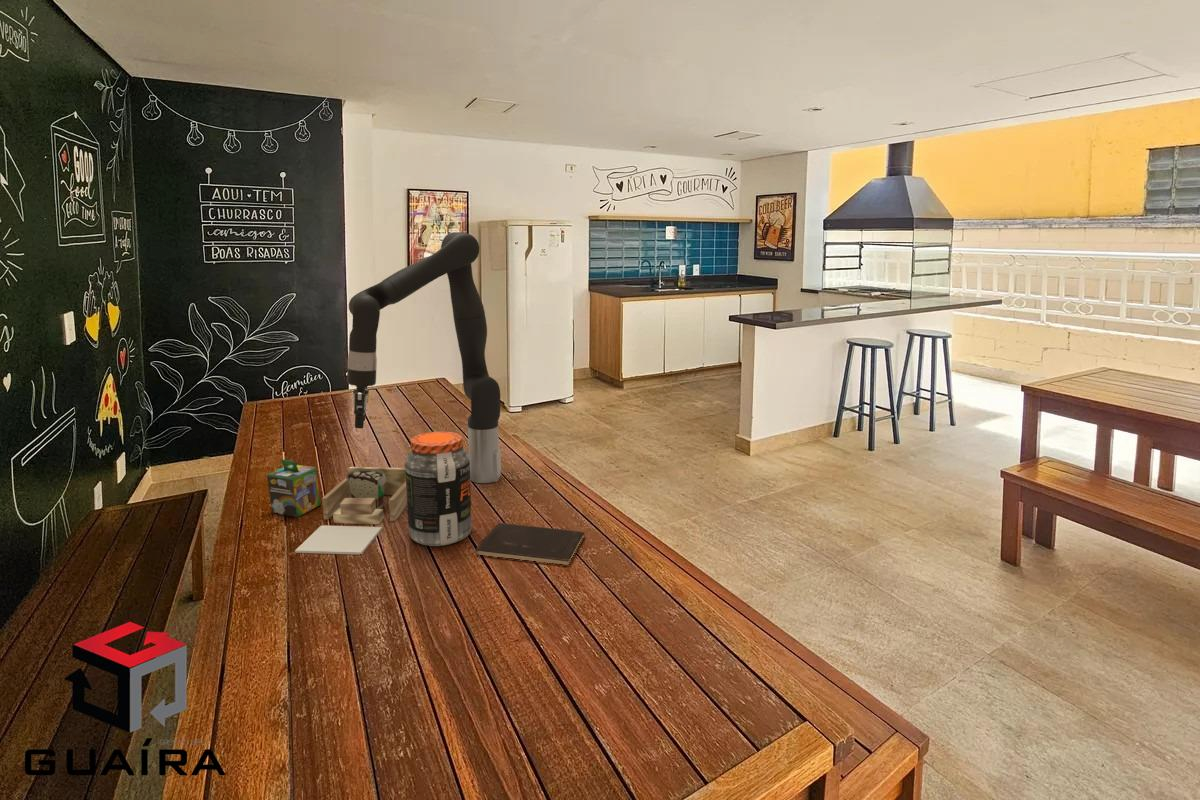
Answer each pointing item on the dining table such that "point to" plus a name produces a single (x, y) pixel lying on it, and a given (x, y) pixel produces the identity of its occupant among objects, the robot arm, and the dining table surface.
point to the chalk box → (293, 489)
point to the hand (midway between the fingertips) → (360, 424)
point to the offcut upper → (357, 506)
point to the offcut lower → (359, 517)
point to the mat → (339, 540)
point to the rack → (391, 487)
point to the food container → (367, 484)
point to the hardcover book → (531, 543)
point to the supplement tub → (438, 489)
